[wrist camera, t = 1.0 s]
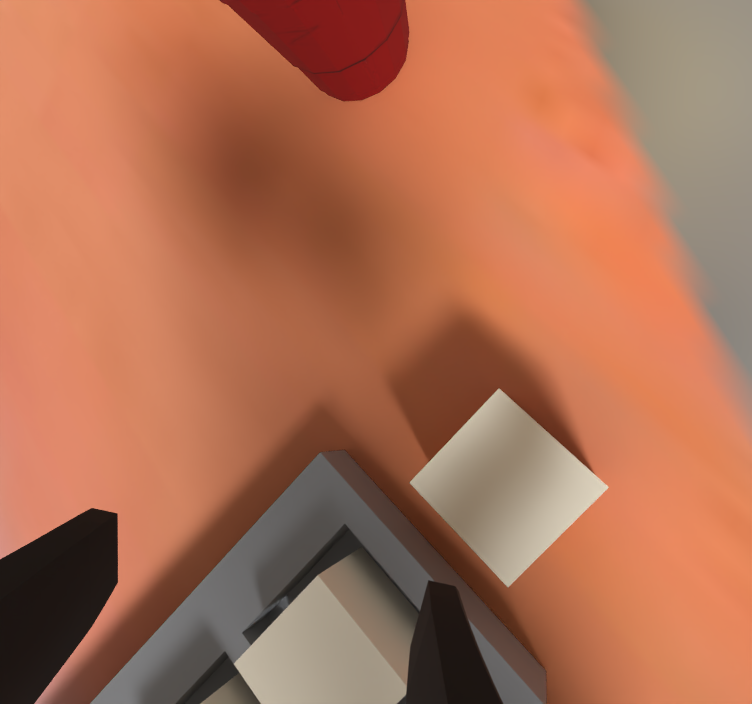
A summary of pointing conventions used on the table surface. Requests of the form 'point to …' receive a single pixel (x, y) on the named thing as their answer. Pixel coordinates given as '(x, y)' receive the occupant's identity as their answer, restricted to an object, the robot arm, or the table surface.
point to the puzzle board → (288, 572)
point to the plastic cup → (335, 40)
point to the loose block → (507, 486)
